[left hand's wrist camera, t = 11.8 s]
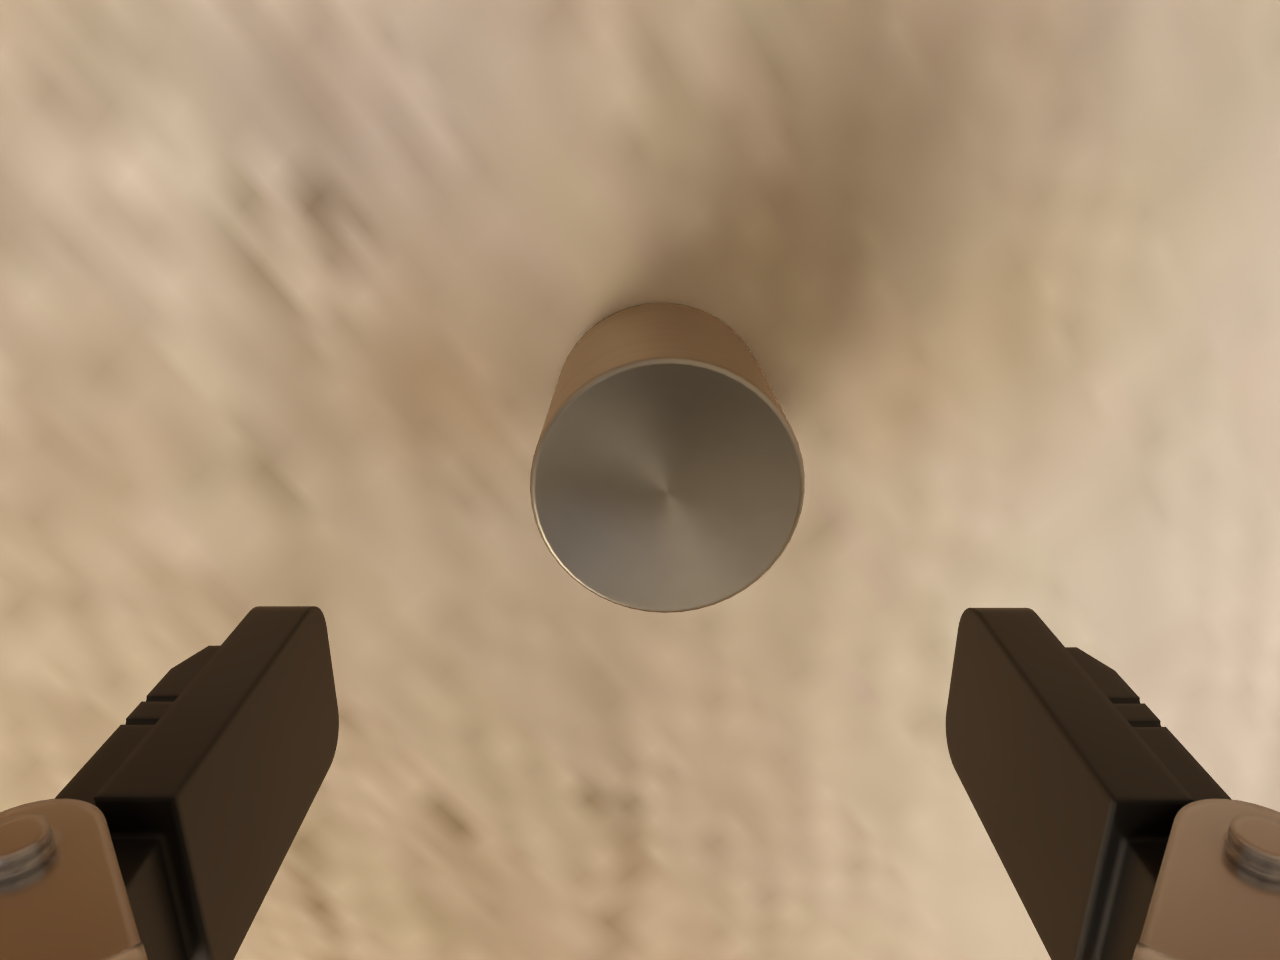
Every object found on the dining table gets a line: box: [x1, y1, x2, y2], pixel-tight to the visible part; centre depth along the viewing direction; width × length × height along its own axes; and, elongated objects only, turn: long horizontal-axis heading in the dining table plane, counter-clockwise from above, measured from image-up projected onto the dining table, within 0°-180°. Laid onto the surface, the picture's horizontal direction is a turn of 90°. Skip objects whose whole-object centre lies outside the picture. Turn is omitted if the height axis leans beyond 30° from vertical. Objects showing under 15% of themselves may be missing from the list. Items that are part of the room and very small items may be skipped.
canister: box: [530, 303, 805, 613], centre depth 15 cm, size 4×4×4 cm
